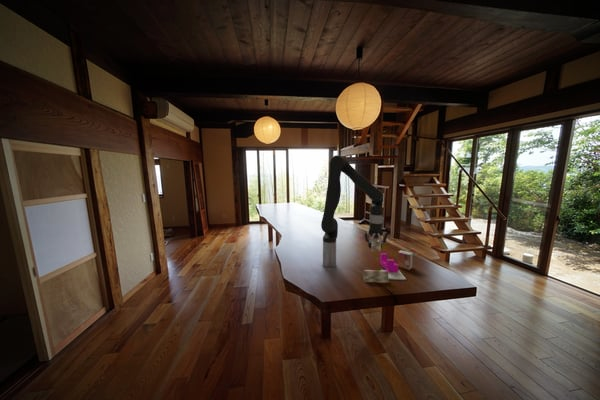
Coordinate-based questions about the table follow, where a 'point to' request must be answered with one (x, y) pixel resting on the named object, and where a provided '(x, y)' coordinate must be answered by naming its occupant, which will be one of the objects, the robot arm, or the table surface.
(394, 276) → the pad
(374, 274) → the screen
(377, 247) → the birch cube
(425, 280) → the table surface
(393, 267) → the toy block
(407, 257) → the small box
